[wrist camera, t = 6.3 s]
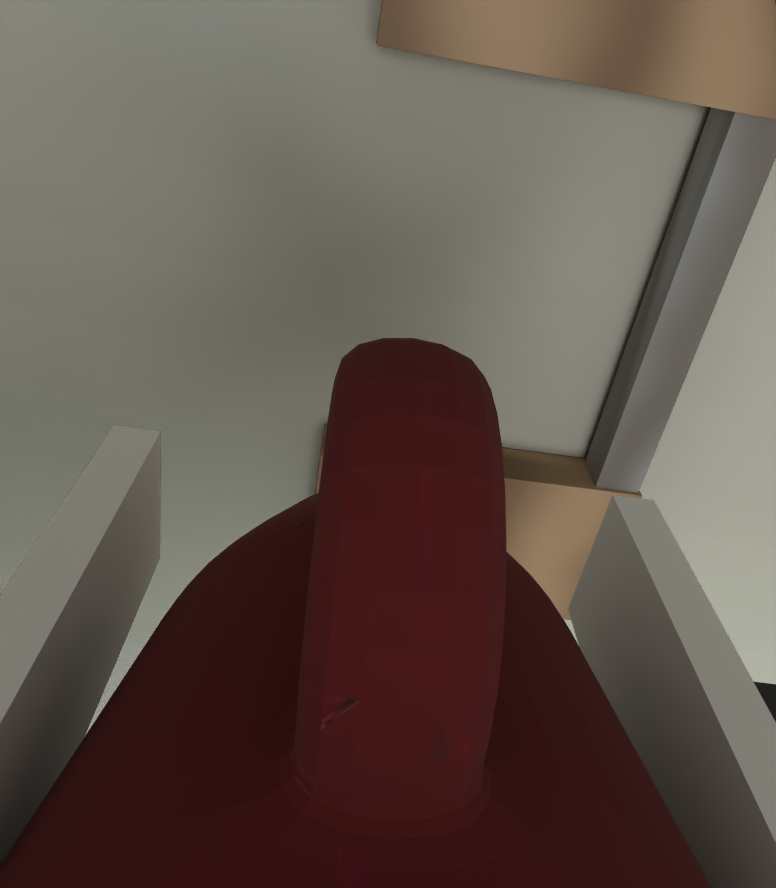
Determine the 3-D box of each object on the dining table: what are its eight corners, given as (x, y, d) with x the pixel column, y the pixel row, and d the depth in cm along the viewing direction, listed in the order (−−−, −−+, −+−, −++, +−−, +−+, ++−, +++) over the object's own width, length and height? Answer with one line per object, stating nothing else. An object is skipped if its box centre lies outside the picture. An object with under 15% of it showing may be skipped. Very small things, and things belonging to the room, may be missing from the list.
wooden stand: (306, 554, 33) (268, 872, 21) (416, -252, 19) (494, -723, 7) (580, 586, 35) (696, 902, 22) (869, -149, 21) (1609, -392, 8)
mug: (72, 230, 11) (-1322, 1173, 2) (628, 209, 10) (1772, 1154, 2) (197, 713, 16) (-31, 1530, 7) (564, 705, 16) (770, 1533, 7)
